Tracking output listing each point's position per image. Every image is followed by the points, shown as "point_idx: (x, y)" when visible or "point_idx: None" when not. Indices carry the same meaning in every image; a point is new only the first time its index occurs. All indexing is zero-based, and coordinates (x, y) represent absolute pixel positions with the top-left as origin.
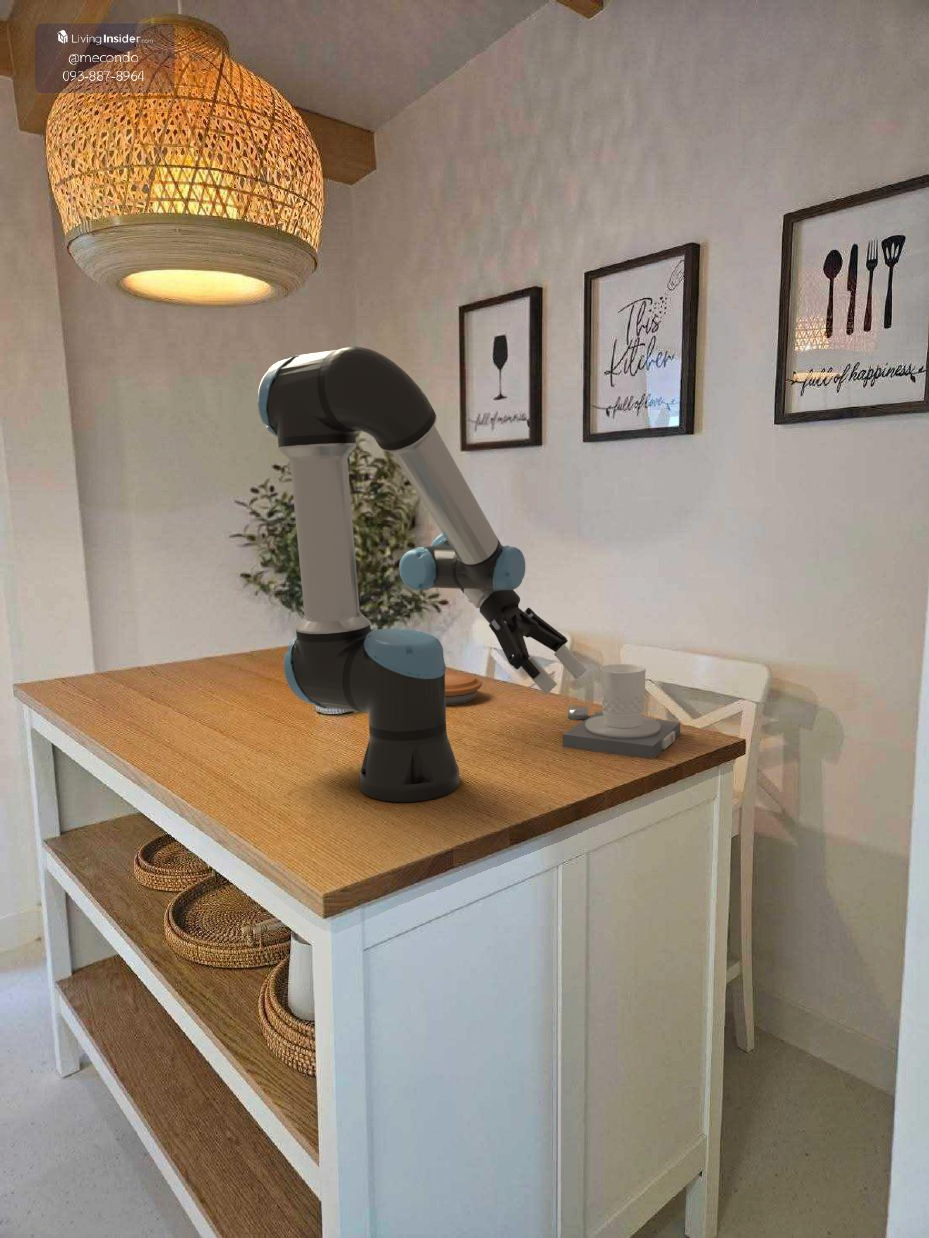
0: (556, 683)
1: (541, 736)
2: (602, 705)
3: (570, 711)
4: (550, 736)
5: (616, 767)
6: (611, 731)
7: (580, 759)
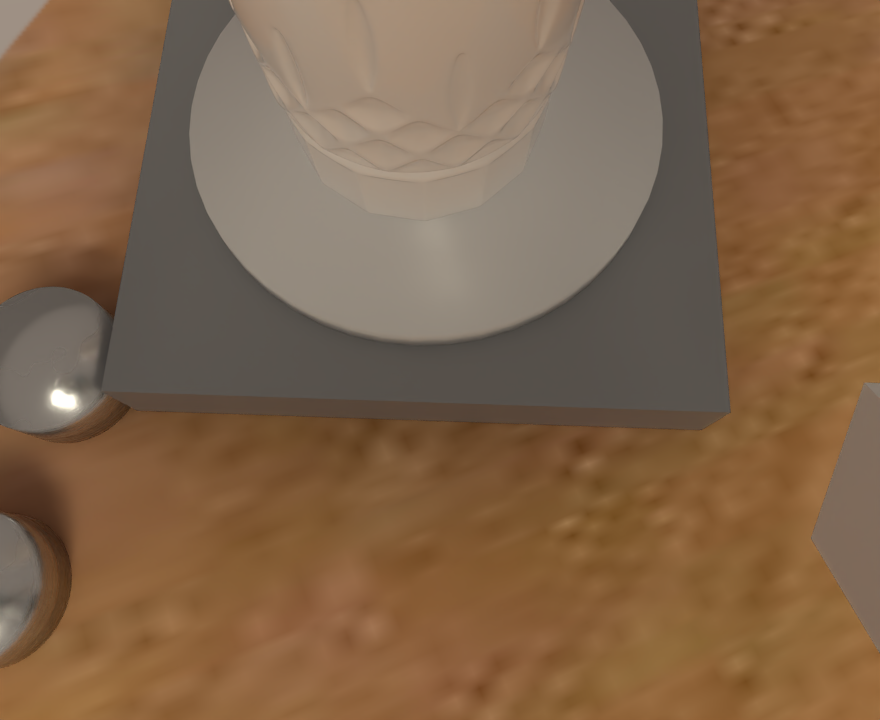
0: (875, 388)
1: (550, 655)
2: (502, 133)
3: (22, 629)
4: (524, 593)
5: (876, 73)
6: (620, 120)
7: (861, 259)
